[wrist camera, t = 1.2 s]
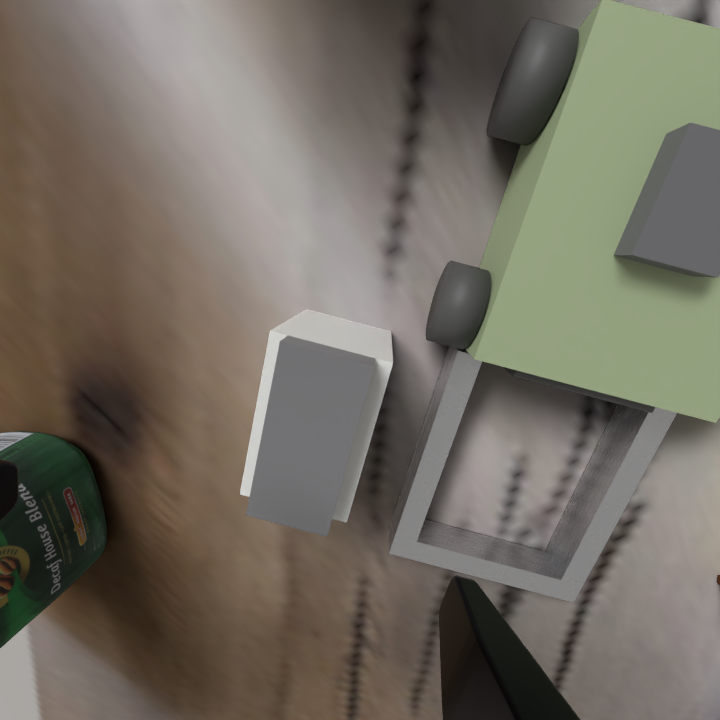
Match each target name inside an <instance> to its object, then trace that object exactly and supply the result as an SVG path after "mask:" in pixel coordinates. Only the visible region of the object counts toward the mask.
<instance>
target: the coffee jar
mask: <svg viewBox="0 0 720 720" xmlns="http://www.w3.org/2000/svg"><path fill="white" fill-rule="evenodd" d="M0 459H1V460H5V461H9V462H13V463H14V464H16V465H17V467H18V478H19V498H18V501H17V503H16V505H15V506H14V508H13V509H12V510H11V511H10V512H9V513H8V514H7V515H6V516H5V517H4V518H3V519H2V520H1V521H0V648H1V647H2V646H3V645H4V644H6V643H7V642H8V641H9V640H10V639H11V638H12V637H13V636H14V635H16V634H17V633H18V632H19V631H20V630H21V629H22V628H23V627H25V626H26V625H27V624H28V623H29V622H30V621H31V620H33V619H34V618H35V617H36V616H37V615H38V614H39V613H41V612H42V611H43V610H44V609H45V608H46V607H47V606H49V605H50V604H51V603H52V602H53V601H54V600H55V599H57V598H58V597H59V596H60V595H61V594H62V593H63V592H64V591H65V590H67V589H68V588H69V587H70V586H71V585H72V584H73V583H74V582H75V581H76V580H77V579H78V578H79V577H80V576H81V575H82V574H84V573H85V572H86V571H87V570H88V569H89V568H90V567H91V566H92V565H93V564H94V563H95V562H96V561H97V560H98V558H99V557H100V556H101V555H102V553H103V551H104V548H105V545H106V541H107V529H106V521H105V514H104V509H103V504H102V500H101V495H100V492H99V488H98V485H97V482H96V480H95V477H94V474H93V471H92V469H91V466H90V464H89V462H88V460H87V458H86V457H85V455H84V454H83V453H82V451H81V450H80V449H79V448H77V447H75V446H73V445H72V444H70V443H68V442H67V441H65V440H64V439H62V438H59V437H56V436H53V435H49V434H45V433H40V432H27V431H17V432H5V433H0Z"/></svg>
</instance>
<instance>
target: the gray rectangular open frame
mask: <svg viewBox="0 0 720 720" xmlns="http://www.w3.org/2000/svg"><path fill="white" fill-rule="evenodd" d="M481 363H482V361H479V360H475V359H474V358H473V357H472V356H471V355H470V354H469V353H468V352H467V351H466V350H465V349H459V348H455V347H452V346H449V348H448V351H447V354H446V357H445V360H444V363H443V366H442V369H441V372H440V375H439V378H438V381H437V384H436V387H435V390H434V393H433V396H432V399H431V402H430V405H429V408H428V411H427V414H426V417H425V420H424V423H423V426H422V429H421V432H420V435H419V438H418V441H417V444H416V447H415V450H414V453H413V456H412V459H411V462H410V465H409V468H408V471H407V474H406V477H405V480H404V483H403V486H402V489H401V492H400V495H399V498H398V501H397V504H396V507H395V510H394V513H393V516H392V519H391V522H390V525H389V554H392V555H396V556H400V557H404V558H407V559H411V560H415V561H419V562H422V563H426V564H430V565H434V566H437V567H441V568H445V569H449V570H453V571H456V572H460V573H464V574H468V575H471V576H475V577H479V578H483V579H486V580H490V581H494V582H498V583H501V584H505V585H509V586H513V587H517V588H520V589H524V590H528V591H532V592H535V593H539V594H543V595H547V596H550V597H554V598H558V599H562V600H565V601H569V602H573V603H574V601H575V599H576V597H577V596H578V594H579V592H580V590H581V588H582V586H583V585H584V583H585V581H586V579H587V577H588V575H589V574H590V572H591V570H592V568H593V566H594V565H595V563H596V561H597V559H598V557H599V555H600V554H601V552H602V550H603V548H604V546H605V544H606V543H607V541H608V539H609V537H610V535H611V533H612V532H613V530H614V528H615V526H616V524H617V522H618V521H619V519H620V517H621V515H622V513H623V511H624V510H625V508H626V506H627V504H628V502H629V500H630V499H631V497H632V495H633V493H634V491H635V489H636V488H637V486H638V484H639V482H640V480H641V478H642V477H643V475H644V473H645V471H646V469H647V467H648V466H649V464H650V462H651V460H652V458H653V456H654V455H655V453H656V451H657V449H658V447H659V445H660V444H661V442H662V440H663V438H664V436H665V434H666V433H667V431H668V429H669V427H670V425H671V423H672V422H673V420H674V418H675V416H676V414H677V413H676V412H672V411H669V410H665V409H661V408H657V407H655V409H654V411H653V413H650V412H646V411H642V410H639V409H635V408H631V407H627V406H624V405H620V404H617V406H616V408H615V410H614V412H613V414H612V416H611V418H610V420H609V422H608V424H607V426H606V429H605V431H604V433H603V435H602V437H601V439H600V441H599V443H598V445H597V447H596V449H595V451H594V453H593V455H592V457H591V459H590V461H589V463H588V465H587V467H586V469H585V471H584V473H583V475H582V477H581V479H580V481H579V483H578V486H577V488H576V490H575V492H574V494H573V496H572V498H571V500H570V502H569V504H568V506H567V508H566V510H565V512H564V514H563V516H562V518H561V520H560V522H559V524H558V526H557V528H556V530H555V532H554V534H553V536H552V538H551V540H550V543H549V545H548V547H547V549H546V551H542V550H539V549H535V548H531V547H527V546H524V545H520V544H516V543H512V542H509V541H505V540H501V539H497V538H493V537H490V536H486V535H482V534H478V533H475V532H471V531H467V530H463V529H460V528H456V527H452V526H448V525H445V524H441V523H437V522H433V521H429V520H426V519H425V517H426V515H427V512H428V509H429V506H430V504H431V501H432V498H433V495H434V493H435V490H436V487H437V484H438V482H439V479H440V476H441V473H442V471H443V468H444V465H445V462H446V460H447V457H448V454H449V451H450V449H451V446H452V443H453V440H454V438H455V435H456V432H457V429H458V427H459V424H460V421H461V418H462V416H463V413H464V410H465V407H466V405H467V402H468V399H469V396H470V394H471V391H472V388H473V385H474V383H475V380H476V377H477V374H478V372H479V369H480V366H481Z"/></svg>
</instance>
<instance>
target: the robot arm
mask: <svg viewBox="0 0 720 720" xmlns="http://www.w3.org/2000/svg"><path fill="white" fill-rule="evenodd" d="M18 498H19V478H18V467H17V465H16V464H14V463H13V462H9V461H5V460H1V459H0V521H1V520H2V519H3V518H4V517H5V516H6V515H7V514H8V513H9V512H10V511H11V510H12V509H13V508H14V506H15V505H16V503H17V501H18ZM439 631H440V661H441V690H442V711H443V720H580V718H579V717H578V716H577V714H576V713H575V712H574V711H573V709H572V708H571V707H570V705H569V704H568V703H567V701H566V700H565V699H564V697H563V696H562V695H561V693H560V692H559V691H558V689H557V688H556V687H555V685H554V684H553V683H552V681H551V680H550V679H549V678H548V676H547V675H546V674H545V672H544V671H543V670H542V668H541V667H540V666H539V664H538V663H537V662H536V660H535V659H534V658H533V656H532V655H531V654H530V652H529V651H528V650H527V648H526V647H525V646H524V645H523V643H522V642H521V641H520V639H519V638H518V637H517V635H516V634H515V633H514V631H513V630H512V629H511V627H510V626H509V625H508V623H507V622H506V621H505V619H504V618H503V617H502V616H501V614H500V613H499V612H498V610H497V609H496V608H495V606H494V605H493V604H492V602H491V601H490V600H489V598H488V597H487V596H486V594H485V593H484V592H483V590H482V589H481V588H480V586H479V585H478V584H477V583H476V582H475V581H474V580H472V579H469V578H465V577H461V576H453V578H452V579H451V581H450V583H449V586H448V588H447V591H446V593H445V596H444V598H443V601H442V603H441V607H440V612H439Z"/></svg>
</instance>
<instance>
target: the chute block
mask: <svg viewBox="0 0 720 720" xmlns="http://www.w3.org/2000/svg"><path fill="white" fill-rule="evenodd" d="M392 365H393V353H392V337H391V331H387V330H384V329H380V328H376V327H372V326H368V325H365V324H361V323H357V322H353V321H349V320H346V319H342V318H338V317H334V316H331V315H327V314H323V313H319V312H315V311H312V310H308V309H306V310H304V311H302V312H301V313H299V314H297V315H296V316H294V317H292V318H291V319H289V320H287V321H286V322H284V323H282V324H280V325H279V326H277V327H275V328H274V329H272V330H270V334H269V340H268V345H267V350H266V356H265V361H264V367H263V372H262V377H261V383H260V388H259V394H258V399H257V404H256V410H255V415H254V421H253V426H252V431H251V437H250V442H249V447H248V453H247V458H246V464H245V469H244V474H243V480H242V485H241V491H240V495H244V496H248V497H249V502H248V507H247V512H246V515H247V516H251V517H255V518H259V519H262V520H266V521H270V522H274V523H277V524H281V525H285V526H289V527H293V528H296V529H300V530H304V531H308V532H311V533H315V534H319V535H323V536H326V537H327V536H328V532H329V529H330V525H331V522H332V519H335V520H338V521H342V522H346V523H347V520H348V516H349V513H350V509H351V506H352V503H353V499H354V496H355V492H356V489H357V485H358V482H359V479H360V475H361V472H362V468H363V465H364V461H365V458H366V455H367V451H368V448H369V444H370V441H371V437H372V434H373V431H374V427H375V424H376V420H377V417H378V413H379V410H380V407H381V403H382V400H383V396H384V393H385V389H386V386H387V383H388V379H389V376H390V372H391V369H392Z"/></svg>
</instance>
